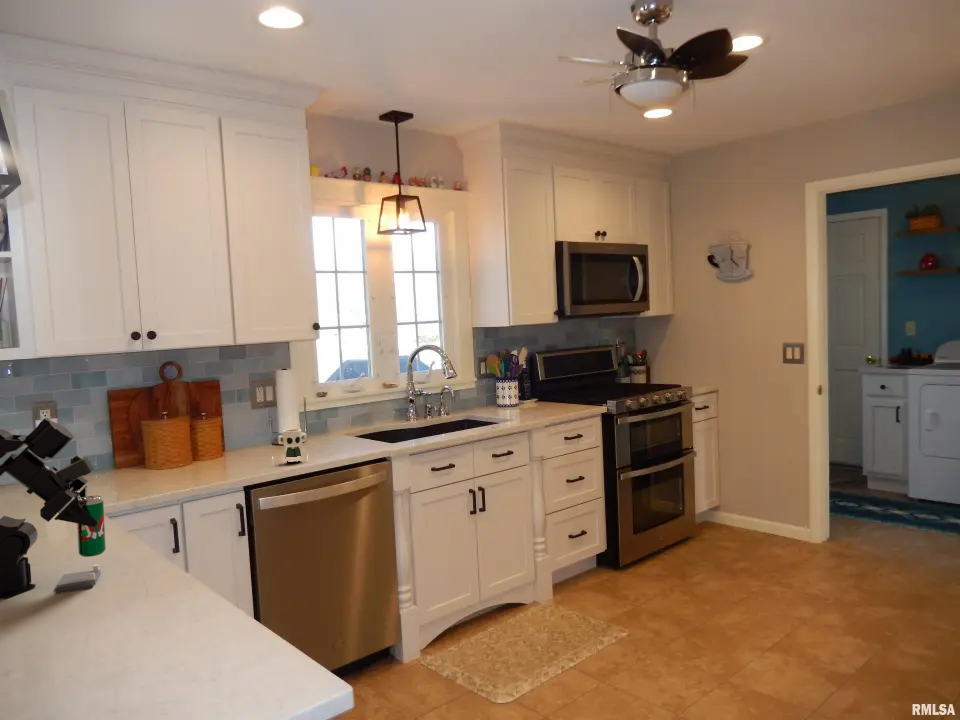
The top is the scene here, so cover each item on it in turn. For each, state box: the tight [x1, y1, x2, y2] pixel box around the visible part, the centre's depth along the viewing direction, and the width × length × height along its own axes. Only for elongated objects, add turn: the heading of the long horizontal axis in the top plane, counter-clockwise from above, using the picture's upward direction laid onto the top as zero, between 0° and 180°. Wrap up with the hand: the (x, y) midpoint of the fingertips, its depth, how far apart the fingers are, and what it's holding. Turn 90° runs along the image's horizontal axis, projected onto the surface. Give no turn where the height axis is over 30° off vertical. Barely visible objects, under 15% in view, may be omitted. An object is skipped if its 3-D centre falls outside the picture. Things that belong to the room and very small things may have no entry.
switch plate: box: [56, 564, 102, 588], centre depth 148 cm, size 7×7×2 cm
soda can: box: [76, 495, 107, 558], centre depth 149 cm, size 5×5×12 cm
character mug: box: [277, 428, 307, 458], centre depth 276 cm, size 11×7×13 cm, turn 113°
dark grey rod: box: [55, 583, 94, 594], centre depth 144 cm, size 7×1×1 cm, turn 110°
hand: (98, 522), depth 149 cm, fingers closed on soda can, 5 cm apart
